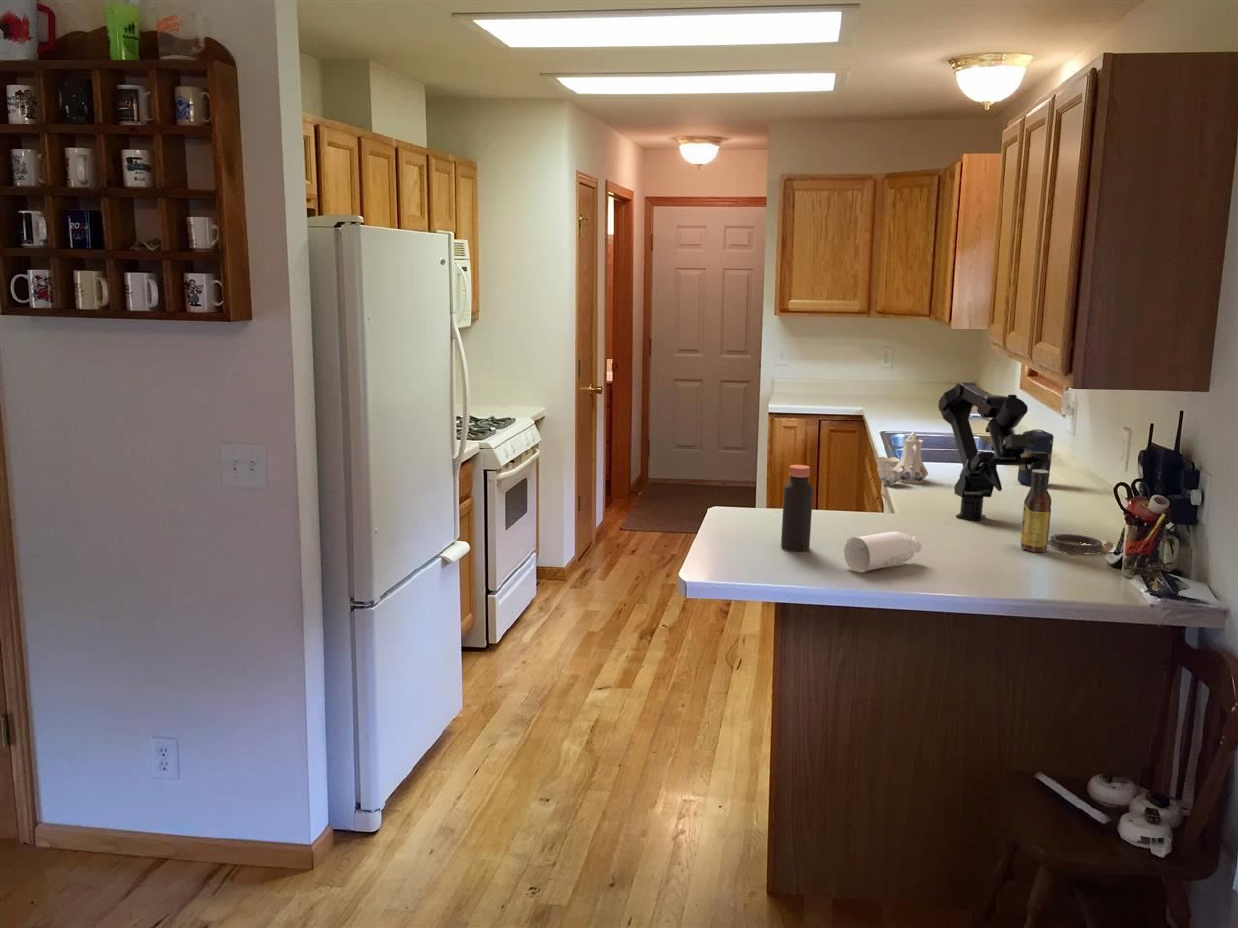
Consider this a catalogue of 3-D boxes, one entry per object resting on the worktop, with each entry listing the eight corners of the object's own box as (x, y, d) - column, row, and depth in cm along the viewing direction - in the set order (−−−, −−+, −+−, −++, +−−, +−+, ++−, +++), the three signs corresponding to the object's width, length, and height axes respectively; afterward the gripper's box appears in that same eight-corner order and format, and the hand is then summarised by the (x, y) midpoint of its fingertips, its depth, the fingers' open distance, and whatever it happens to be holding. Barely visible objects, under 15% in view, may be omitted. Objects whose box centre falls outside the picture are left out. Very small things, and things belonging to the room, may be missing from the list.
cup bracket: (1099, 539, 268) (1100, 532, 268) (1133, 552, 257) (1134, 544, 256) (1039, 542, 264) (1039, 534, 263) (1070, 555, 252) (1071, 547, 252)
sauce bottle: (1026, 545, 261) (1034, 466, 257) (1051, 550, 256) (1060, 470, 253) (1014, 549, 256) (1022, 470, 253) (1039, 555, 252) (1048, 474, 248)
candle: (1021, 480, 344) (1027, 426, 340) (1051, 484, 338) (1057, 429, 335) (1013, 484, 336) (1018, 429, 333) (1044, 488, 331) (1050, 432, 327)
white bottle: (927, 566, 240) (930, 533, 238) (867, 576, 230) (869, 541, 229) (902, 557, 247) (904, 525, 245) (842, 567, 237) (844, 533, 236)
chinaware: (870, 475, 353) (869, 427, 351) (921, 473, 351) (920, 424, 348) (879, 493, 326) (877, 440, 323) (934, 490, 324) (933, 437, 321)
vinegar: (775, 545, 254) (780, 464, 250) (799, 543, 257) (804, 463, 253) (790, 552, 248) (795, 470, 244) (814, 550, 250) (820, 468, 247)
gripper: (980, 420, 262) (994, 473, 254) (1051, 421, 264) (1068, 474, 256) (963, 444, 271) (977, 496, 263) (1032, 444, 273) (1048, 496, 265)
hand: (1018, 490), depth 262 cm, fingers open, 9 cm apart
